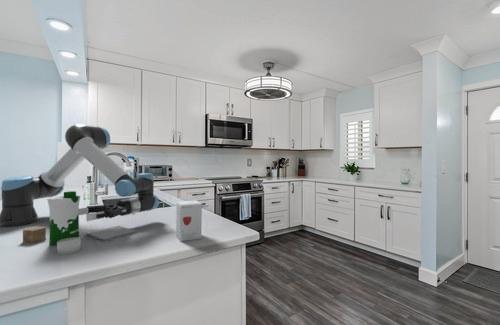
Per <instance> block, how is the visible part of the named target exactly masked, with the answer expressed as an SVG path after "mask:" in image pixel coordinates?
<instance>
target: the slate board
mask: <svg viewBox="0 0 500 325" xmlns="http://www.w3.org/2000/svg"><path fill="white" fill-rule="evenodd" d="M136 233H137V230H135V229H131V228H128V227H125V226H120V225H116V226H112V227H108V228H104V229H100V230H94V231H91V232H87V234H86V235H87V236H88V237H91V238H94V239H96V240H99V241H101V242H107V241H111V240H114V239H118V238H121V237H125V236H128V235H133V234H136Z"/></svg>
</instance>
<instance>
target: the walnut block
mask: <svg viewBox="0 0 500 325" xmlns="http://www.w3.org/2000/svg"><path fill="white" fill-rule="evenodd" d="M46 230H47V228H46V226H32V227H29V228H24V229H22V243H25V244H26V243H27V244H36V243H39V242H41V241H44V239H45V240H46V239H47V234H46V233H47V232H46Z"/></svg>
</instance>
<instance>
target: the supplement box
mask: <svg viewBox="0 0 500 325" xmlns="http://www.w3.org/2000/svg"><path fill="white" fill-rule="evenodd" d="M202 204H203V203H202V202H200V201H199V200H197V199H196V200H195V199H194V200H180V201H176V212H175V214H176V216H175V218H176V221H175V222H176V223H175V224H176V225H175V226H176V227H175V229H176V230H175V231H176V232H175V235H176V237H177V238H178V240H179V241H180V242H185V241H192V240H199V239H200V240H201V239H202V229H203V228H202V223H203V222H202V221H203V220H202V217H203V216H202V214H203V212H202V211H203V209H202V208H203V207H202V206H203V205H202Z"/></svg>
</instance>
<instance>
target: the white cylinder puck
mask: <svg viewBox="0 0 500 325" xmlns="http://www.w3.org/2000/svg"><path fill="white" fill-rule="evenodd" d="M80 251H82V238H81V237H80V236H79V237H72V238H66V239H62V240H59V241H58V242H57V245H56V254H57V255H59V256H60V255H61V256H67V255H73V254H75V253H78V252H80Z"/></svg>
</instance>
